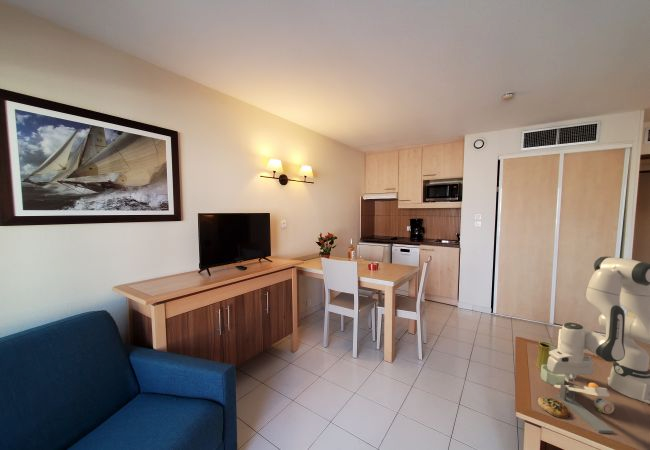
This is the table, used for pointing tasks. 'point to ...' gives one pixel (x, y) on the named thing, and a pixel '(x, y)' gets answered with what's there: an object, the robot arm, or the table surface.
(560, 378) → the cup
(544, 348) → the vase
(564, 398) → the catapult base
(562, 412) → the bread roll
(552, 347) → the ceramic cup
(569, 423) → the table surface
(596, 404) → the roller toy
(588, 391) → the lever
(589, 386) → the ball
